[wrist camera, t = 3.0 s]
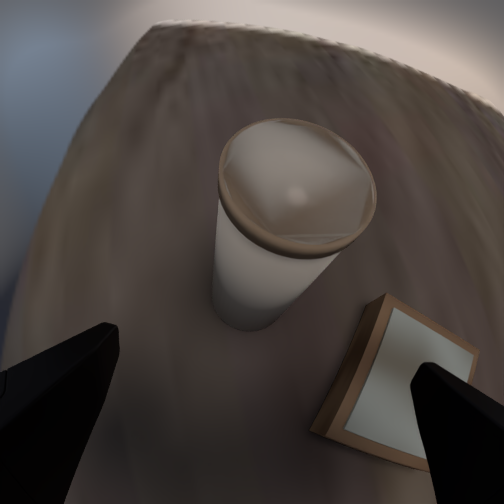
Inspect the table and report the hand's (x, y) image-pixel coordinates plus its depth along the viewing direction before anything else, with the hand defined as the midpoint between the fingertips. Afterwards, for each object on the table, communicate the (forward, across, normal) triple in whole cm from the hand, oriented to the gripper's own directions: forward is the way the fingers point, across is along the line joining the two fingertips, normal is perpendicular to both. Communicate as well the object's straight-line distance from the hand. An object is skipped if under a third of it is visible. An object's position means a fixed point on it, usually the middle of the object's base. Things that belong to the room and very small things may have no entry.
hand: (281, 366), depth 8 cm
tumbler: (+12, 0, +4) cm, 13 cm away
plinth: (+8, -12, +9) cm, 17 cm away
